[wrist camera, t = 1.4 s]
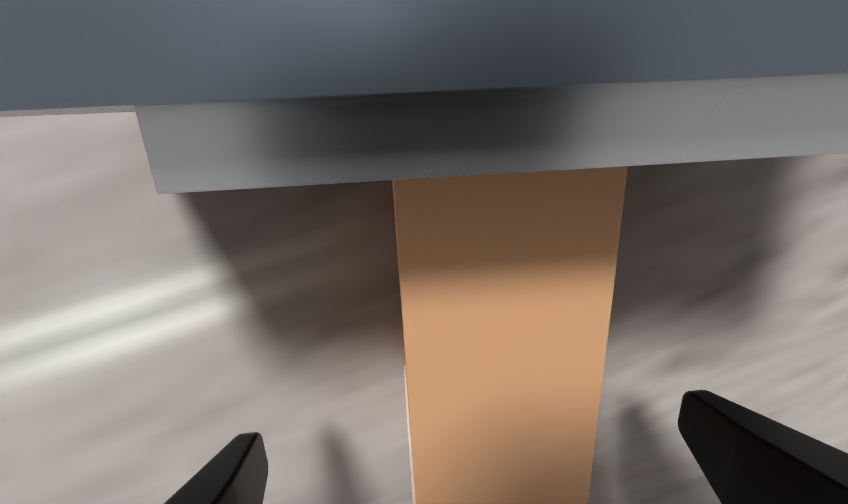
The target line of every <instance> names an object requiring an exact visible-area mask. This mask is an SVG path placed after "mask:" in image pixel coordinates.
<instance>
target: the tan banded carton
mask: <svg viewBox="0 0 848 504" xmlns="http://www.w3.org/2000/svg"><path fill="white" fill-rule="evenodd" d="M627 171H628V166H621V167H604V168H587V169H571V170H554V171H537V172H520V173H503V174H487V175H470V176H453V177H436V178H419V179H403V180H392V184H393V198H394V212H395V226H396V240H397V255H398V269H399V283H400V297H401V311H402V325H403V340H404V354H405V365H404V379H405V394H406V408H407V423H408V438H409V452H410V467H411V482H412V496H413V504H588V501H589V493H590V484H591V476H592V467H593V459H594V450H595V442H596V433H597V425H598V416H599V408H600V399H601V391H602V383H603V374H604V366H605V357H606V349H607V340H608V332H609V323H610V315H611V306H612V298H613V290H614V281H615V273H616V264H617V256H618V247H619V239H620V230H621V222H622V213H623V205H624V196H625V188H626V180H627Z"/></svg>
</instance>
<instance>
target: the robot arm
mask: <svg viewBox="0 0 848 504" xmlns="http://www.w3.org/2000/svg"><path fill="white" fill-rule="evenodd" d="M678 427H679V431H680V433H681V435H682V437H683V439H684V440H685V442H686V444H687V445H688V447H689V449H690V451H691V452H692V454H693V456H694V458H695V459H696V461H697V463H698V464H699V466H700V468H701V470H702V471H703V473H704V475H705V476H706V478H707V480H708V482H709V483H710V485H711V487H712V489H713V490H714V492H715V494H716V495H717V497H718V498H719V500H720V502H721V503H722V504H848V453H845V452H843V451H841V450H839V449H836V448H834V447H832V446H830V445H828V444H825V443H823V442H821V441H819V440H816V439H814V438H812V437H810V436H807V435H805V434H803V433H801V432H799V431H796V430H794V429H792V428H790V427H787V426H785V425H783V424H781V423H779V422H776V421H774V420H772V419H770V418H767V417H765V416H763V415H761V414H758V413H756V412H754V411H752V410H750V409H747V408H745V407H743V406H741V405H738V404H736V403H734V402H732V401H729V400H727V399H725V398H723V397H721V396H718V395H716V394H714V393H712V392H709V391H707V390H694V391H687V392H685V394H684V395H683V398H682V403H681V408H680V413H679V418H678ZM267 476H268V461H267V457H266V452H265V447H264V443H263V438H262V436H261V434H260V433H258V432H253V433H242V434H239V435H238V436H236V437H235V438H234V439H233V440H232V441H231V442H230V443H229V444H227V445H226V446H225V447H224V448H223V449H222V450H221V451H220V452H219V453H218V454H217V455H216V456H215V457H214V458H212V459H211V460H210V461H209V462H208V463H207V464H206V465H205V466H204V467H203V468H202V469H201V470H200V471H198V472H197V473H196V474H195V475H194V476H193V477H192V478H191V479H190V480H189V481H188V482H187V483H186V484H184V485H183V486H182V487H181V488H180V489H179V490H178V491H177V492H176V493H175V494H174V495H173V496H172V497H171V498H169V499H168V500H167V501H166V502H165V503H164V504H263V498H264V493H265V487H266V482H267Z"/></svg>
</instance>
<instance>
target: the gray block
mask: <svg viewBox="0 0 848 504" xmlns="http://www.w3.org/2000/svg"><path fill="white" fill-rule="evenodd" d="M114 112H136V114H137V118H138V122H139V126H140V130H141V133H142V137H143V141H144V145H145V149H146V152H147V156H148V160H149V164H150V168H151V171H152V175H153V179H154V183H155V187H156V190H157V194H168V193H184V192H201V191H218V190H235V189H252V188H268V187H285V186H302V185H319V184H335V183H352V182H369V181H386V180H403V179H419V178H436V177H453V176H470V175H487V174H503V173H520V172H537V171H554V170H571V169H587V168H604V167H621V166H638V165H655V164H671V163H688V162H705V161H722V160H739V159H755V158H772V157H789V156H806V155H823V154H839V153H848V0H0V117H9V116H36V115H62V114H88V113H114Z"/></svg>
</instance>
